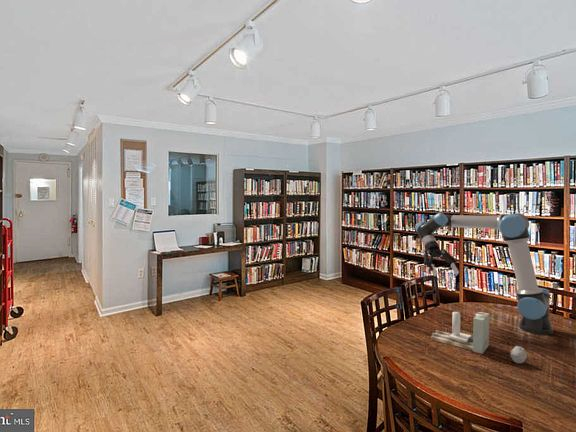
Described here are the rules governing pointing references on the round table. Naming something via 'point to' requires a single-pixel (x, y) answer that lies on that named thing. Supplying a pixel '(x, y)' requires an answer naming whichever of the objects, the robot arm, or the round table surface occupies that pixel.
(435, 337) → the rail track
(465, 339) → the carriage
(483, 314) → the gauge cabinet
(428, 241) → the robot arm
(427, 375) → the round table surface
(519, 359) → the grey round lump
